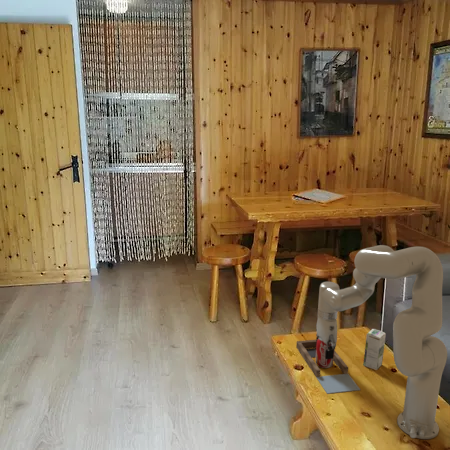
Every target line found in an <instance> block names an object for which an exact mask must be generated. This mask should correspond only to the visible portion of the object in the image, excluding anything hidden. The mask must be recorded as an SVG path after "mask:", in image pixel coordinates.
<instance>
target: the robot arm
mask: <svg viewBox="0 0 450 450" xmlns="http://www.w3.org/2000/svg"><path fill="white" fill-rule="evenodd" d="M353 261H354V267H355V268H354V269H353V272H352V277H353V279H354V281H355V284H353V285H352V286H348V287H345V288H341V289H340V286H339V284H338V283H337V282H335V281H334V282H332V281H323V282H321V283H320V285H319V290H318V291H319V293H318V302H317V303H318V304H317V305H318V308H317V321H316V324H315V326H316V330H315V331H316V334H315V335H316V336H315V337H316V338H315V340H316V345H317V340H318V338H319V337H320V338H321V340H322V341H323V342H324V343H325V344H326V347H327V350H326V354H325V359H333V357H334V350H335V351H336V347H337V340H338V321H337V319H338V312H343V311H347V310H349V309H352V308H356V307H359V306H361V305H362V304H364V303H365V302H366V301H367V300H368V299H369V298H370V297H371V296H373V294H374V292H375V288H376V287H375V286H376V283H378V282H379V281H380V279H387V280H400V279H404V278H408V277H411V276H414V275H415V276H416V277H415V281H414V283H413V285H412V289H411V290H412V291H411V297H412V298H411V306H410V307H409V308H407V309H404V310H401V311H400V312H399V313H398V314H397V315H396V316H395V318H394V321H393V324H392V341H393V342H392V343H393V344H392V346H393V349H392V350H393V351H392V352H393V360H394V364H395V366H396V368H397V370H398V371H399V372H400V373H401V374H402V375H404V376H406V377H407V378H406V379H407V380H406V387H405V397H404V405H403V411H402V412H400V413H399V415H398V416H397V420H396V421H397V422H396V423H397V426H398V427H399V428H400V430H402V432H404V433H405V434H407V435H408V436H409V437H410V438H411V439H415V438H417V439H420V440H430V439H433V438H436V437H437V436H438V435H439V431H440V427H439V425H438V423H437V421H436V413H437V409H438V408H437V406H438V401H439V393H440V389H441V381H442V375H443V373H444V369H445V368H446V367H445V366H446V364H447V360H448V350H447V347H446V344H445V343H444V342H443V341H442V340H441V339H440V338H438V337H436V336H433V335H435V334H437V333H438V332H440V330H441V329H442V327H443V282H444V270H443V265H442V262H441V259H440V258H439V257H438V255H437V254H436V253H435V252H434V251H432V249H430V248H428V247H425V246H411V247H407V248H403V249H399V250H394V249H393V248H392V247H390V246H388V245H386V244H380V245H374V246H370V247H369V246H368V247H366V248H362V249H360V250H359V251H358V252H357V253H356V255H355V257H354V260H353ZM328 341H331V342H328ZM328 344H331V346H330V347H329V345H328Z"/></svg>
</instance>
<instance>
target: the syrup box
mask: <svg viewBox="0 0 450 450" xmlns="http://www.w3.org/2000/svg"><path fill="white" fill-rule="evenodd" d="M386 335H387V334H386V332H384V331H382V330H379V329H376V328H372V329H371V330H370V331H368V333H366V336H365V337H366V338H365V347H364V355H363V364H362V365H363V367H366V368H369V369H372V370H375V371H378V370H379V369H380V368H381V366H382V365H383V360H384V352H385V351H384V350H385V343H386Z"/></svg>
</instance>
